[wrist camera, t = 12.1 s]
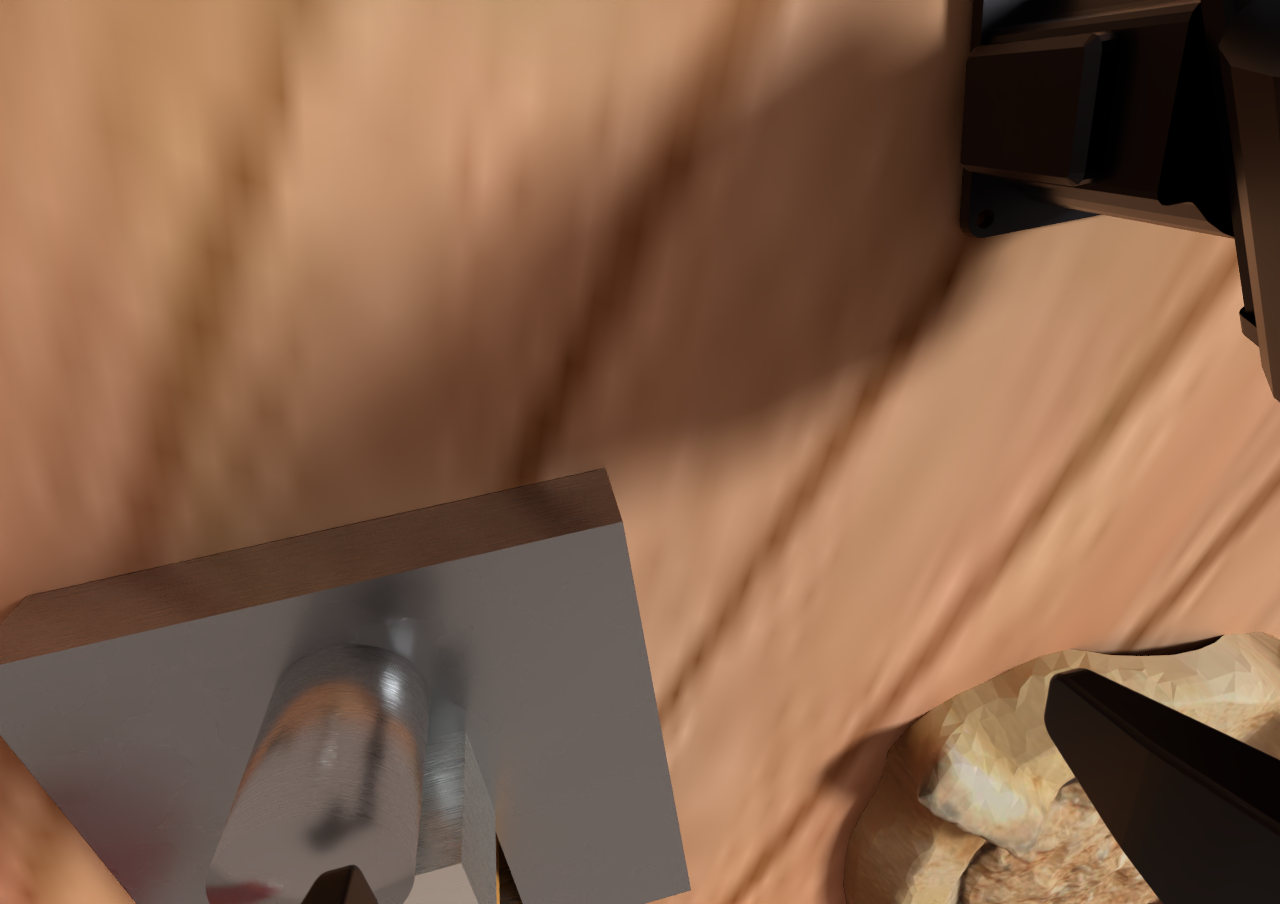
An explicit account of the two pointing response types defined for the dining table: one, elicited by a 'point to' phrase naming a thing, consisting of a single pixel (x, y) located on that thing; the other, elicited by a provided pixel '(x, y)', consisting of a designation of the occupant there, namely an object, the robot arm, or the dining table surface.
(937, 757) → the ashtray
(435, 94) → the dining table surface
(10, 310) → the dining table surface
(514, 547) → the grey slotted base plate
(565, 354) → the dining table surface
